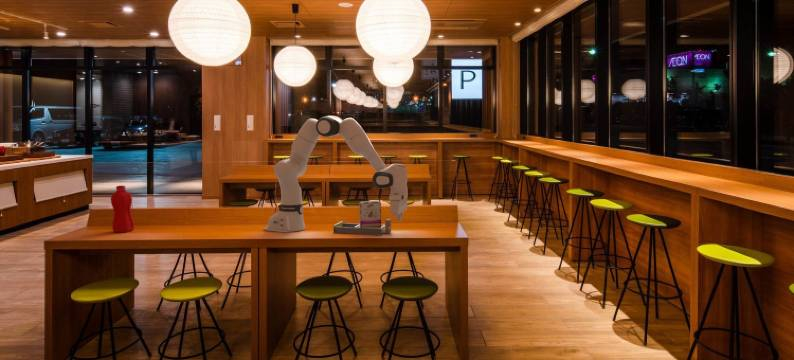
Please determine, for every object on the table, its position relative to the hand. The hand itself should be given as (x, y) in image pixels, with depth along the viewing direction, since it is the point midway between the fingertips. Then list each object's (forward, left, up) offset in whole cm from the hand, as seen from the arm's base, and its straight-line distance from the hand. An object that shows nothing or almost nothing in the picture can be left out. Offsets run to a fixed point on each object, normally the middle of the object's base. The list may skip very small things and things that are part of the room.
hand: (399, 220), depth 277 cm
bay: (-22, 0, -7) cm, 23 cm away
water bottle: (-146, -32, -7) cm, 150 cm away
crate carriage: (-14, 0, -7) cm, 16 cm away
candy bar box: (-16, 0, -7) cm, 18 cm away
